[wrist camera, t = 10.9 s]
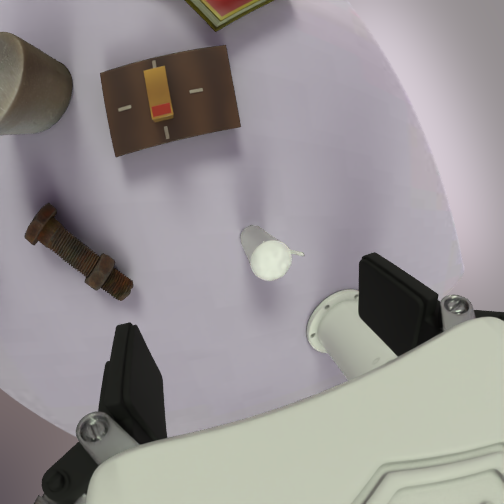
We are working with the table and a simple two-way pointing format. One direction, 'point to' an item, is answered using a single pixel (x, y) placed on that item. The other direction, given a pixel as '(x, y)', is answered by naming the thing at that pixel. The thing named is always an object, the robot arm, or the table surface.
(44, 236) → the bolt
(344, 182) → the table surface
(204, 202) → the table surface
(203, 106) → the lock plate
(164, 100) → the thumbturn
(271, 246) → the milkshake
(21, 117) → the pillar candle
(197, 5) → the hardcover book
